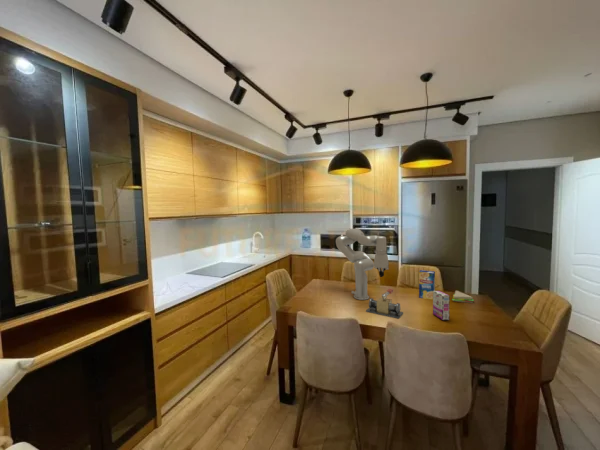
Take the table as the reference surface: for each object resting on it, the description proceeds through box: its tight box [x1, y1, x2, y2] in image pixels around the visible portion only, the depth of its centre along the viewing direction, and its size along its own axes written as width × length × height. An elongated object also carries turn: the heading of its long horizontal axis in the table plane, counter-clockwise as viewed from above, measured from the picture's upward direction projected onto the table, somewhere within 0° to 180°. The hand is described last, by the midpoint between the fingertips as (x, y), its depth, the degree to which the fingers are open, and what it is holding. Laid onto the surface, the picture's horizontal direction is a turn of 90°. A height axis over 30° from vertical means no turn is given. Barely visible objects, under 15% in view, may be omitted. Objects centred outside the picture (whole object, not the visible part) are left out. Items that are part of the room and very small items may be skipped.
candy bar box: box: [432, 290, 451, 321], centre depth 175 cm, size 11×5×16 cm, turn 5°
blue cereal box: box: [418, 269, 436, 301], centre depth 212 cm, size 7×11×22 cm, turn 56°
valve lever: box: [381, 288, 394, 299], centre depth 190 cm, size 18×3×2 cm, turn 144°
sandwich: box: [451, 290, 475, 304], centre depth 208 cm, size 15×20×5 cm
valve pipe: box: [365, 297, 404, 319], centre depth 184 cm, size 23×11×11 cm, turn 54°
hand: (381, 276), depth 197 cm, fingers closed
